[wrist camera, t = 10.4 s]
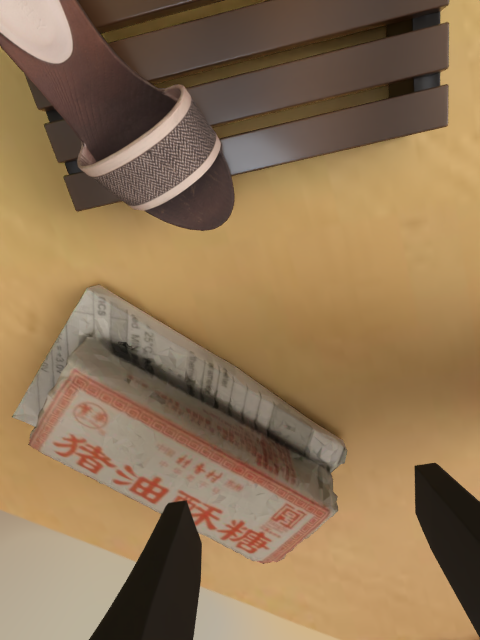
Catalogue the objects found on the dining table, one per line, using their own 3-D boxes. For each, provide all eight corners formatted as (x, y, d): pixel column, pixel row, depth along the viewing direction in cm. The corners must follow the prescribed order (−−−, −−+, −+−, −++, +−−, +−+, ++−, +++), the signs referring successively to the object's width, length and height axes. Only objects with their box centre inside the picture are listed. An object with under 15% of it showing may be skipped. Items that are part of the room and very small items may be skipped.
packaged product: (375, 500, 18) (258, 597, 22) (348, 436, 23) (255, 524, 26) (53, 309, 14) (-35, 463, 17) (97, 276, 19) (21, 403, 22)
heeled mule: (173, 258, 15) (154, 285, 12) (-42, 0, 12) (-161, -74, 8) (257, 193, 14) (263, 199, 11) (48, -110, 11) (-44, -247, 7)
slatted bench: (408, -68, 14) (451, -129, 11) (412, 134, 16) (448, 126, 14) (41, 33, 15) (-4, 0, 12) (101, 205, 17) (75, 212, 15)
